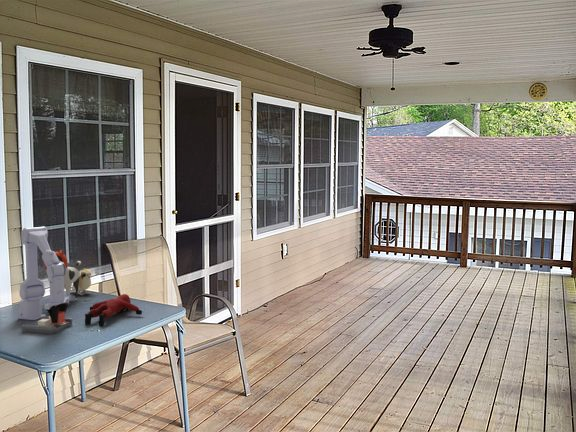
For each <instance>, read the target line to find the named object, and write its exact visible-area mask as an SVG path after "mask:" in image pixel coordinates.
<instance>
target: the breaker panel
mask: <svg viewBox="0 0 576 432" xmlns="http://www.w3.org/2000/svg"><path fill="white" fill-rule="evenodd" d="M41 319H49V316H43V317H41ZM39 320H40V319H39ZM39 320H38V319H37V320H35V321H34V322H32V323H31V322H30V323H29V324H21V333H29V334H41V335H50V336H51V335H54V334H56V333H59V332H61V331H63V330H66V329H67V328H69V327H71V326H73V318H71V317H65V322H63V323H61V324H51V323H50V326H49V327H44V326H38V321H39Z"/></svg>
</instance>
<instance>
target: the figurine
mask: <svg viewBox="0 0 576 432" xmlns="http://www.w3.org/2000/svg"><path fill="white" fill-rule="evenodd" d="M54 252H55V254H56V255H57V257H58V259H59V261H61V262H62V263H64V265H65V267H66V274H65V275H64V291H65V292H66V297H70V295H71V290H72V288H71V287H72V285H73V286H74V287H75V289H76V290H75V297H74V299H73V301H78V295H79V294H78V285H79V279H80V275H81V273H80V271H81V270H80V268H79V266H80V265H81V264H82V261H81V260H76V262H74V263H72V262H68V257H67V256H66V254H64V250H63V248H60V250H59V251H54ZM42 263H43V264H42V265H43V266H44V270H45V271H46V270H47V267H46V265H45V263H44V261H43V260H42ZM66 303H69V304H70V301H67V302H66Z"/></svg>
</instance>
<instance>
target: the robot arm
mask: <svg viewBox="0 0 576 432" xmlns="http://www.w3.org/2000/svg"><path fill="white" fill-rule="evenodd" d="M20 235H21V240H20V241H21V245H24V247H25V250H24V251H25V268H26V269H25V271H26V272H25V273H26V275H25V277H26V279H25V280H23V281H22V282H20V286H19V292H18V293H19V297H20V298H21V299H20V301H19V302H18V317H17V319H18V320H29V321H37V320H38V319H39V320H40V319H42V317H43V316H45V317H47V316H46V314H45V313H44V314H42V313H43V312H42V310H46V312H47V313H48V315H49V316H50V317H51V320H52V323H57V321H58V312H59V311H63V312H65V314H66V312H67V310H68V307H69V306H70V302H71V301H70V300H71V299H70V298H71V297H70V296H69V297H67V296H65V290H64V275H65V274H66V267H65V265H64V263H62V262H61V261H59V259H58V257H57V255H56V254H55V252H56V251H54V250H52V249H51V247H50V244H49V242H48V237H49V231H48V229H47V227H46V226H44V225H43V226H38V227H37V226H36V227H24V228H22V230H21V233H20ZM38 248H39V250H40V252H41V253H42V255H41V259H42V262H43V261H44V263H45V265H46V267H47V270H45V271H46V275H47V280H48V283H49V301H48V302H47V303H45V304H44V305H43V308H44V309H43V308H42V299H43V298H44V296H45V294H46V288H45V284H44V281H43V280H42V279H40V278H39V267H38V265H39V264H38ZM44 263H43V264H44ZM67 301H69V303H67Z"/></svg>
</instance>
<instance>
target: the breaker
mask: <svg viewBox="0 0 576 432" xmlns="http://www.w3.org/2000/svg"><path fill="white" fill-rule="evenodd" d="M37 321H38V320H37ZM38 326H44V327H49V326H50V319H42V318H40V319H39V321H38Z"/></svg>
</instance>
